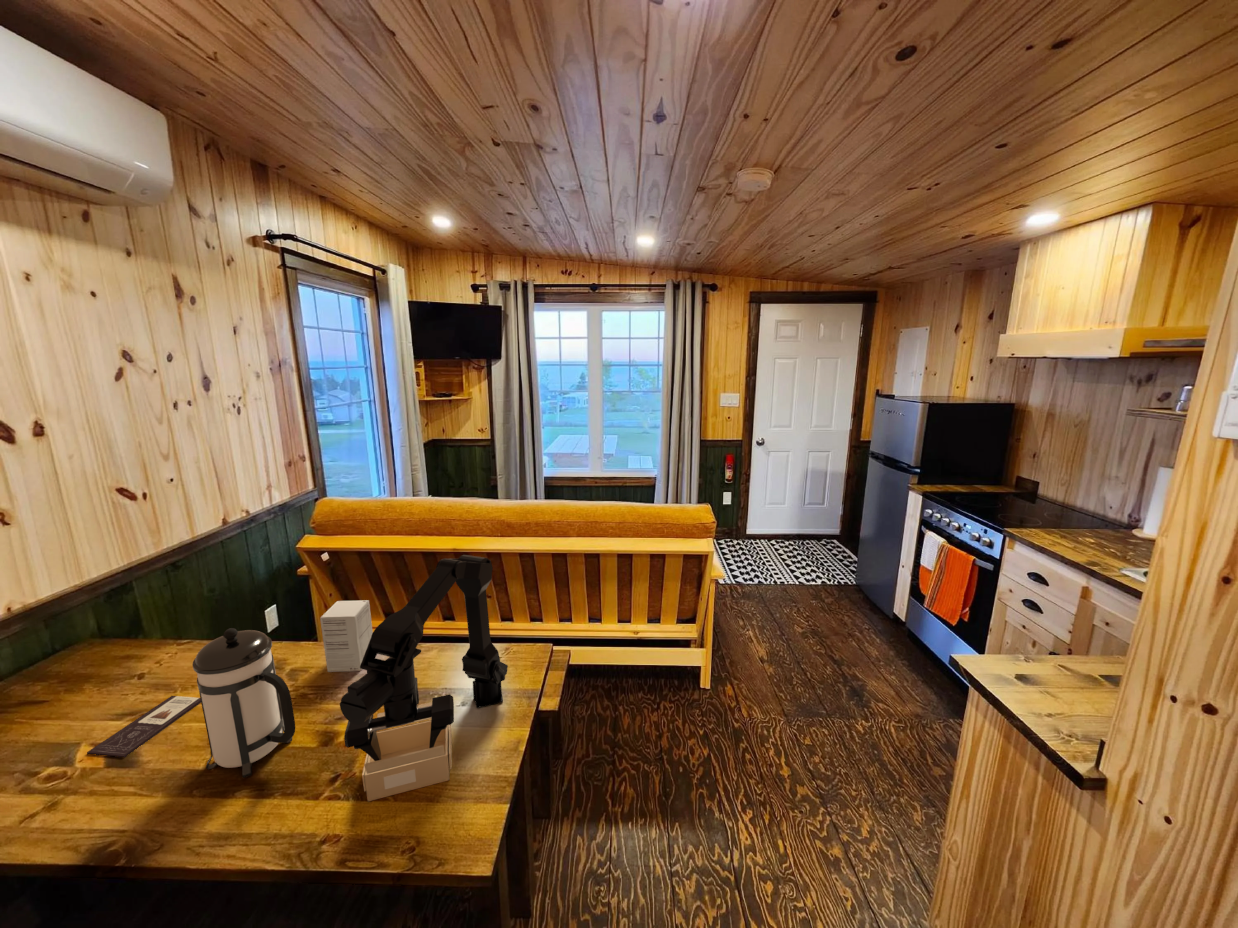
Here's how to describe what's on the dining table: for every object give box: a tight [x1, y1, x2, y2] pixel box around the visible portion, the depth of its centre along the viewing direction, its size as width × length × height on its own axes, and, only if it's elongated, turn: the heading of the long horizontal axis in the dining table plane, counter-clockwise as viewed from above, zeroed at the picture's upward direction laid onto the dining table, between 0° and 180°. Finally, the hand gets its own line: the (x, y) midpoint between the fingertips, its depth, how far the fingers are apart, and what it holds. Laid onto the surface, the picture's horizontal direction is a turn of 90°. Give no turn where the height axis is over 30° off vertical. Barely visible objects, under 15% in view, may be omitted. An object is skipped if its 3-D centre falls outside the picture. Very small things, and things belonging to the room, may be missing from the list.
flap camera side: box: [363, 745, 445, 774], centre depth 91 cm, size 14×4×1 cm
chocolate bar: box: [86, 695, 201, 759], centre depth 110 cm, size 9×1×18 cm
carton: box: [361, 719, 453, 802], centre depth 98 cm, size 16×12×6 cm
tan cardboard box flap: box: [376, 701, 432, 732], centre depth 104 cm, size 14×4×1 cm, turn 109°
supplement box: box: [319, 599, 374, 673], centre depth 133 cm, size 10×9×17 cm
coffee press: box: [192, 627, 296, 779], centre depth 99 cm, size 17×16×30 cm
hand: (405, 756), depth 92 cm, fingers open, 9 cm apart
